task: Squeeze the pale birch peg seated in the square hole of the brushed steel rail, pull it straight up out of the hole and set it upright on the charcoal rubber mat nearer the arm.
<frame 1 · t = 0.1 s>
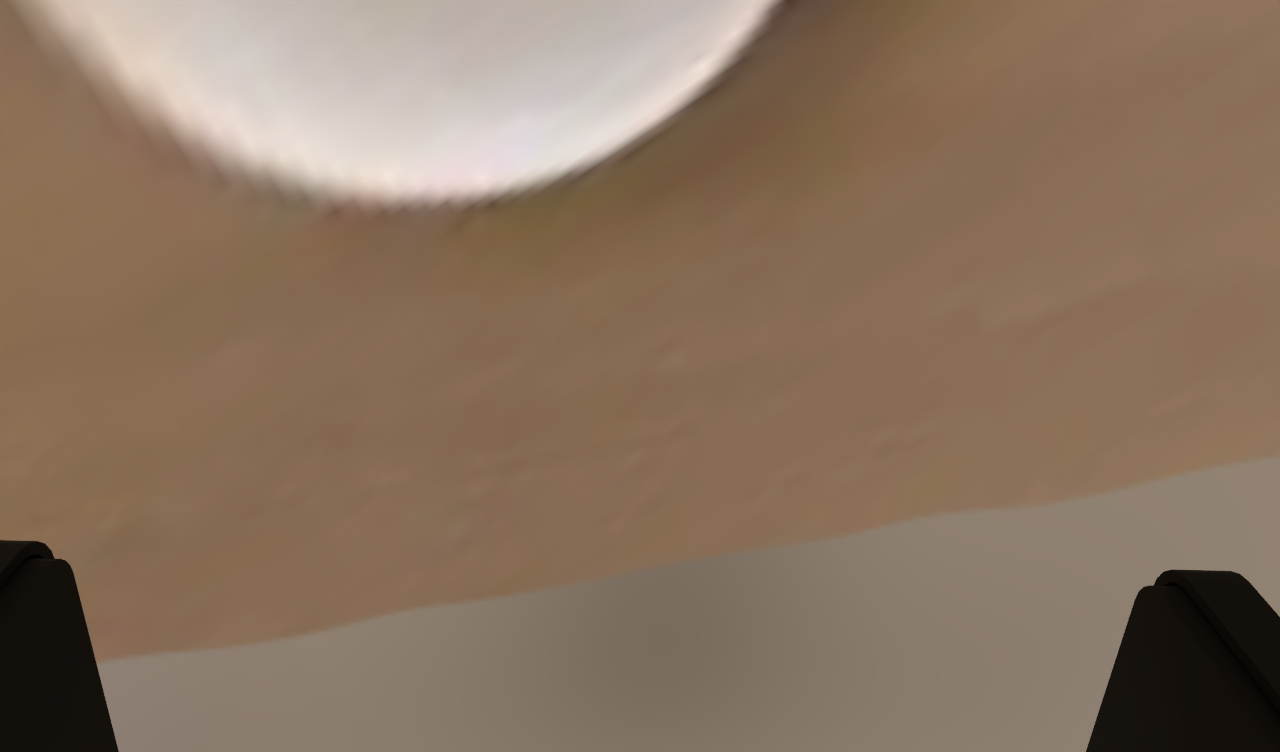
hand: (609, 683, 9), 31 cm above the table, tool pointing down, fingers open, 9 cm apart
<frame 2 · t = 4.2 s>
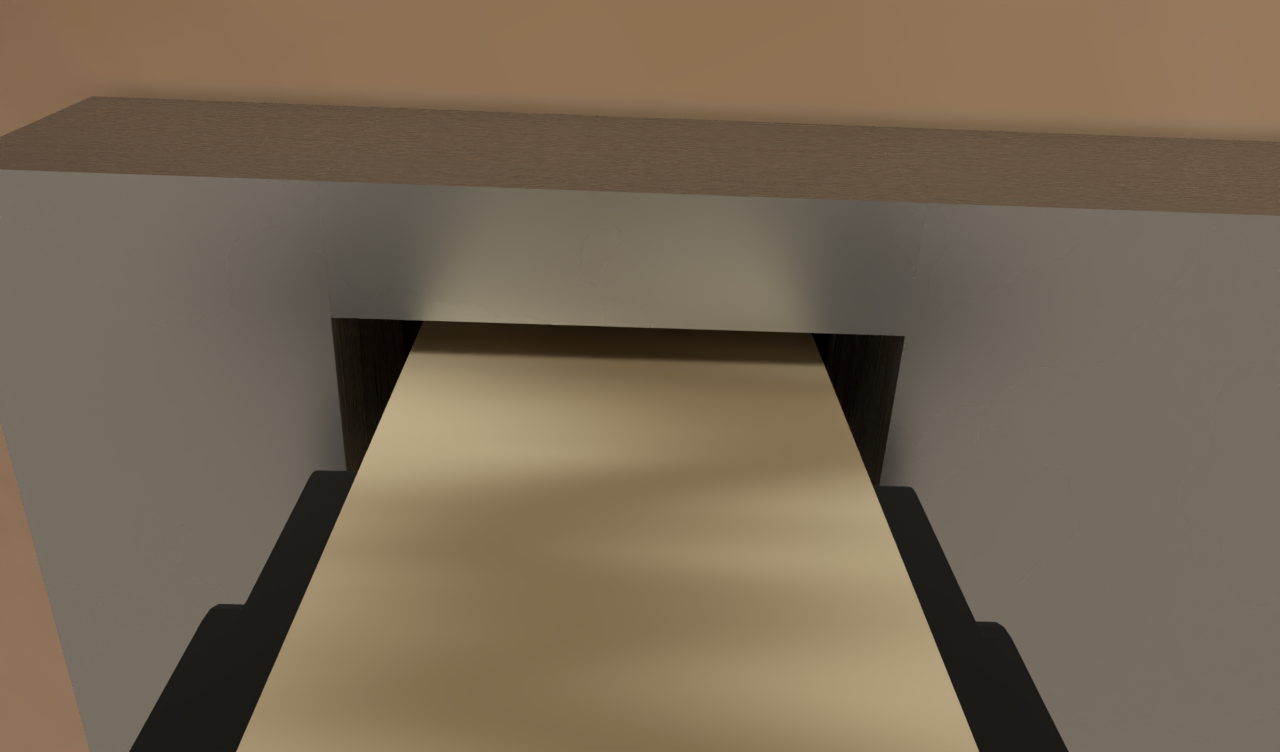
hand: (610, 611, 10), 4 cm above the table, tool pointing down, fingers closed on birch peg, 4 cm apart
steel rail: (988, 432, 14), on the table
birch peg: (613, 420, 14), resting in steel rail, touching gripper
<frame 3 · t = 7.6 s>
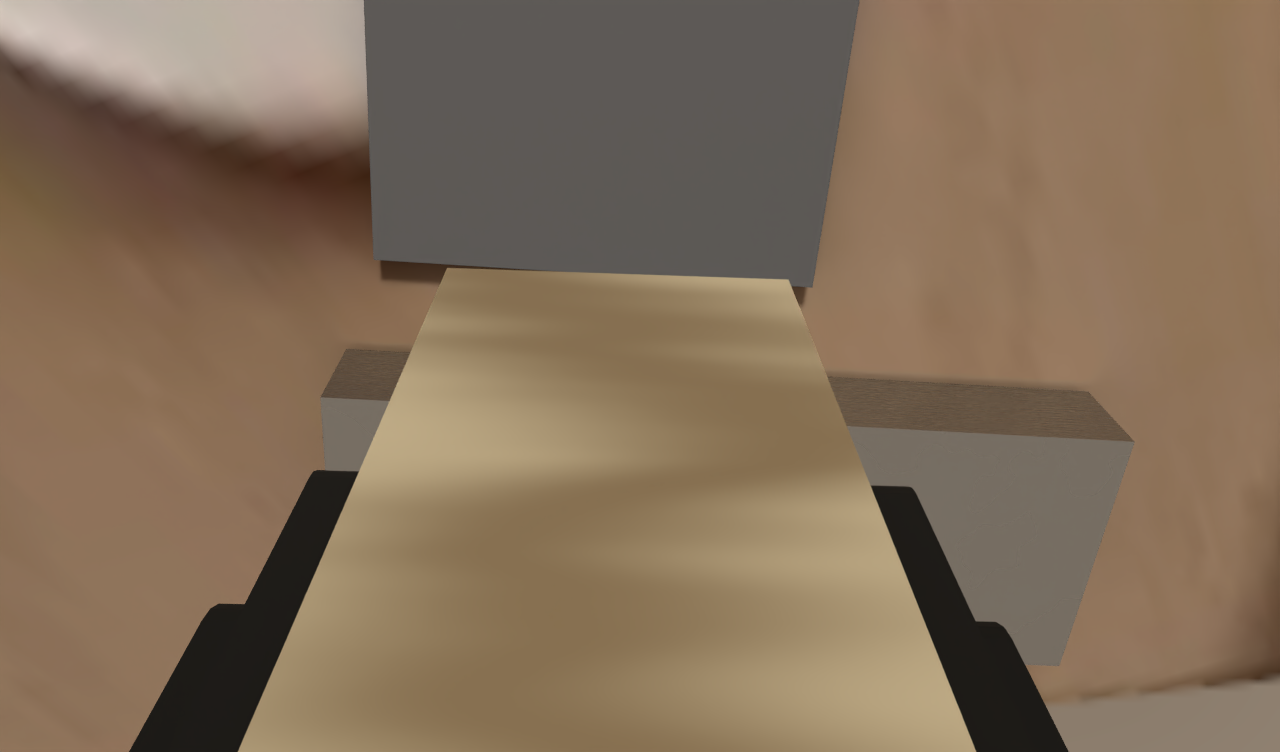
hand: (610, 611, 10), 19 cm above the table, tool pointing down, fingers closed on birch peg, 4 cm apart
charcoal mat: (610, 42, 26), on the table
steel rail: (711, 486, 32), on the table
birch peg: (613, 422, 14), point 15 cm above the table, touching gripper
when the fingers open (6 cm above the table, at t = 11.1 s): birch peg drops 1 cm, resting on charcoal mat.
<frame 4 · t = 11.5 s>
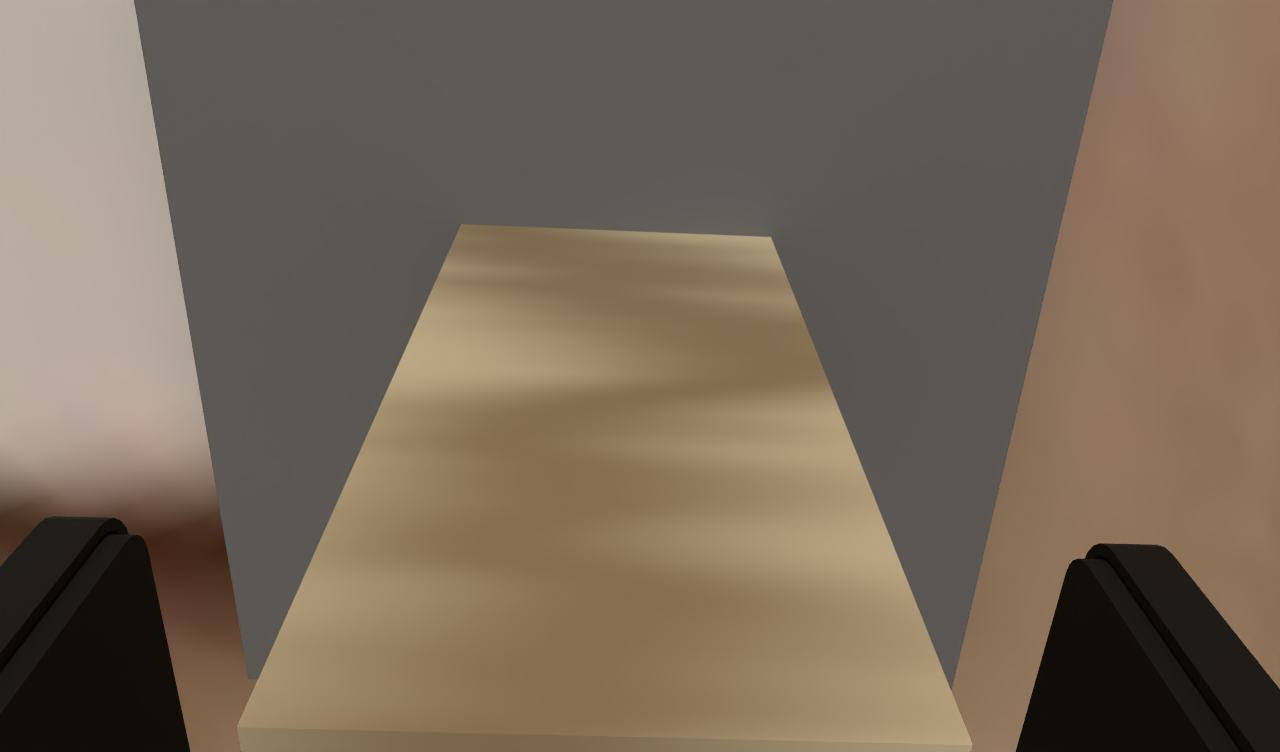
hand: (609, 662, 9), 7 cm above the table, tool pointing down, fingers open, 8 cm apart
charcoal mat: (614, 354, 15), on the table
birch peg: (611, 369, 15), point 1 cm above the table, touching charcoal mat
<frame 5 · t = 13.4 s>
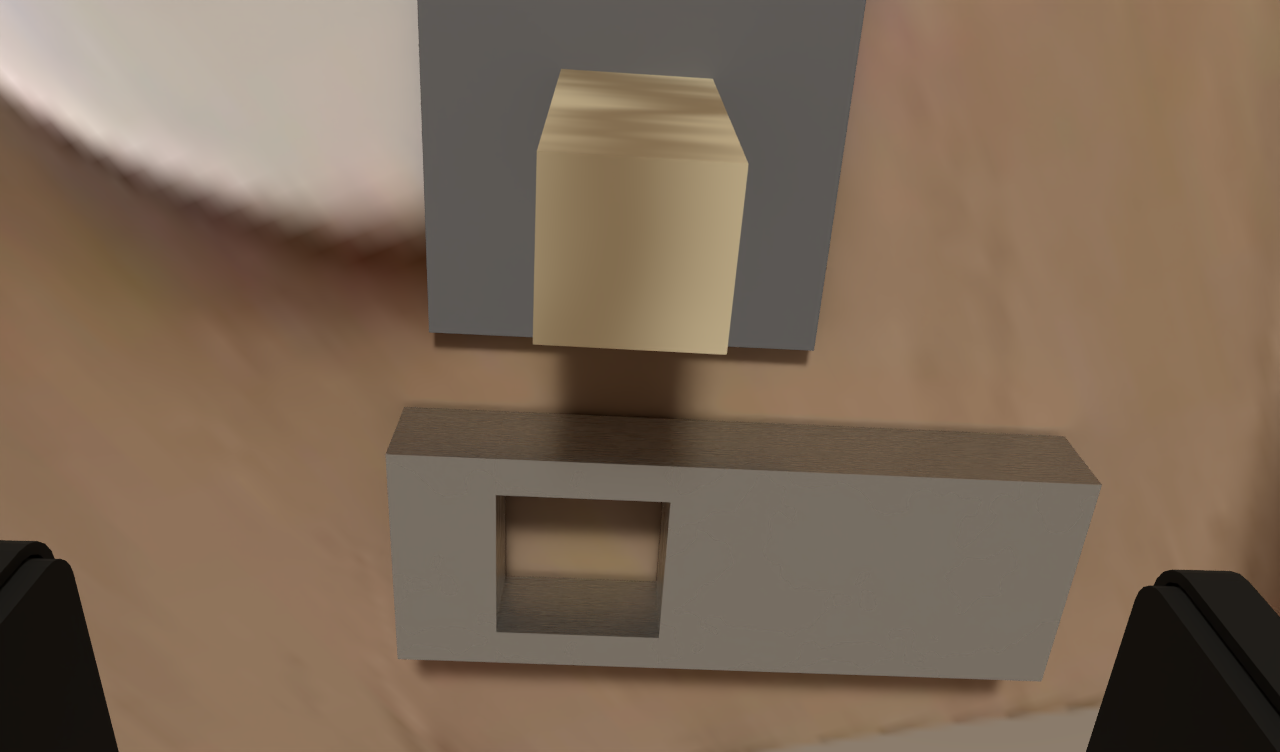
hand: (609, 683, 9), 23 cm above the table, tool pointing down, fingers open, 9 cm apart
charcoal mat: (633, 145, 30), on the table
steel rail: (727, 522, 36), on the table
birch peg: (632, 149, 29), point 1 cm above the table, touching charcoal mat
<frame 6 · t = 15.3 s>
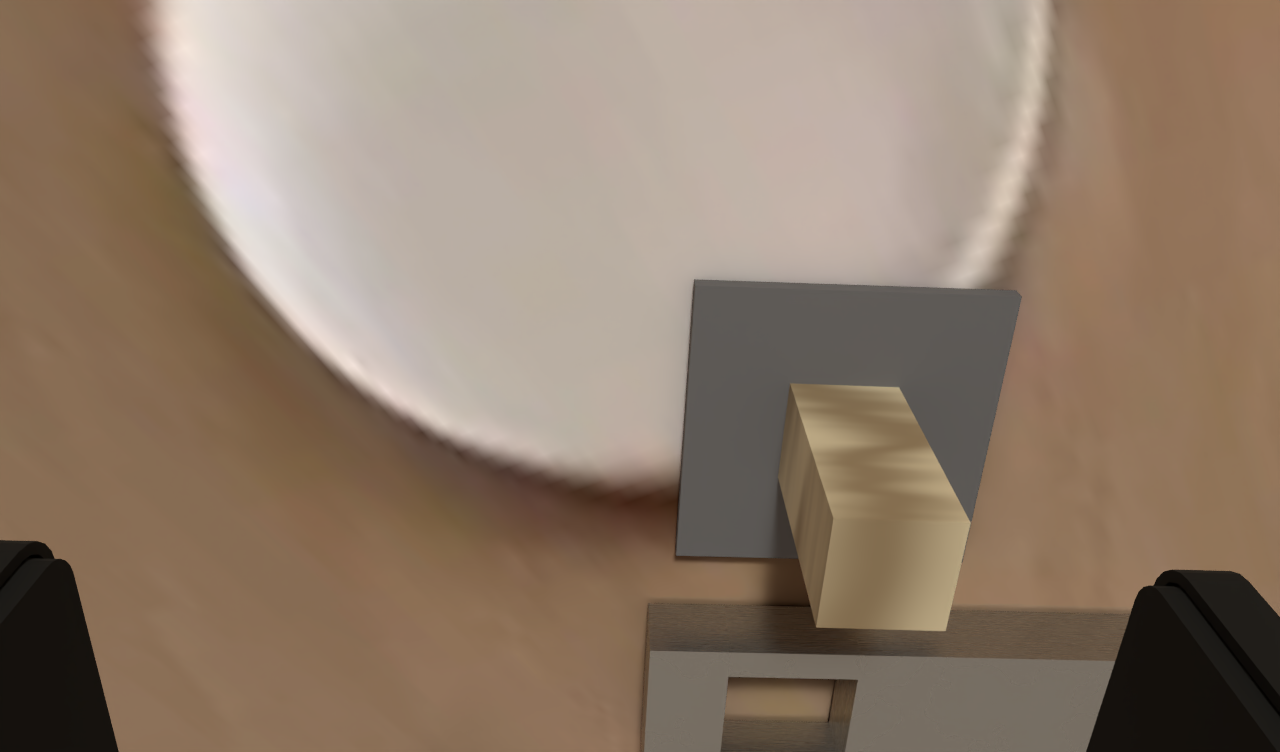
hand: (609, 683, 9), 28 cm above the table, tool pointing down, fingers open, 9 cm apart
charcoal mat: (835, 426, 41), on the table
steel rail: (886, 678, 47), on the table
birch peg: (837, 433, 40), point 1 cm above the table, touching charcoal mat
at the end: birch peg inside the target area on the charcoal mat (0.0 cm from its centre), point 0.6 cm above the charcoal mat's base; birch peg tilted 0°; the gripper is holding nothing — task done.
